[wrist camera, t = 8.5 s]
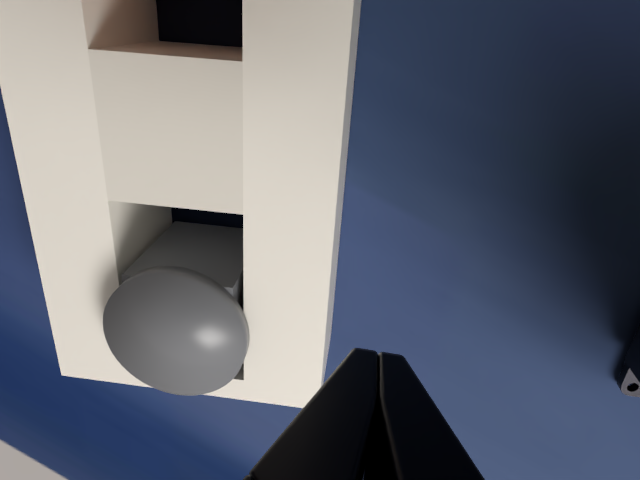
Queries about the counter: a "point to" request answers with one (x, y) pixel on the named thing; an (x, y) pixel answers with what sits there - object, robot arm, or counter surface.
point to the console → (184, 166)
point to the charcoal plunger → (182, 311)
